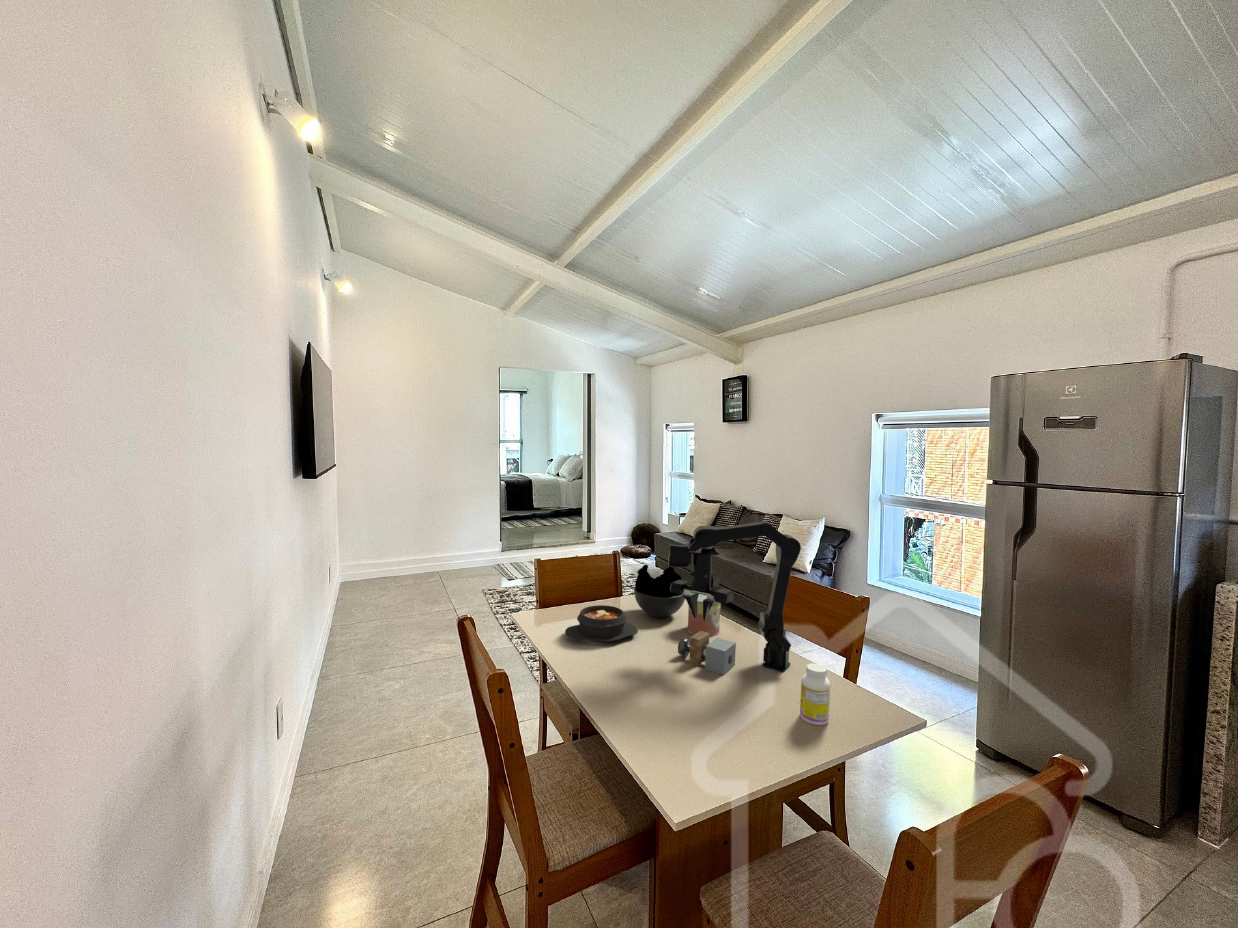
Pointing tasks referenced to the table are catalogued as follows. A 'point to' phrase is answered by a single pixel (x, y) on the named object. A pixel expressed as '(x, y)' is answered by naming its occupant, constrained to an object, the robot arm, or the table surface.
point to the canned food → (710, 623)
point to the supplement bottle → (815, 695)
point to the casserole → (601, 625)
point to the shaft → (687, 648)
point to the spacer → (698, 647)
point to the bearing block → (720, 656)
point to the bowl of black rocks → (658, 592)
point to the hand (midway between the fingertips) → (700, 618)
